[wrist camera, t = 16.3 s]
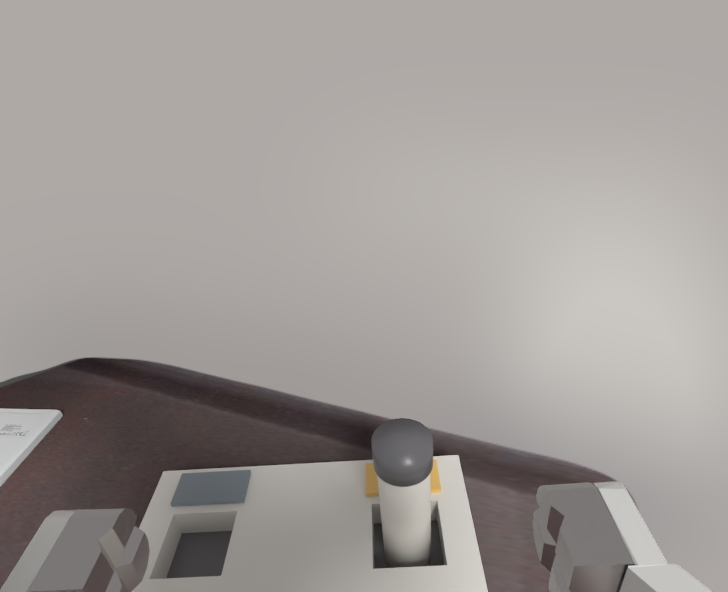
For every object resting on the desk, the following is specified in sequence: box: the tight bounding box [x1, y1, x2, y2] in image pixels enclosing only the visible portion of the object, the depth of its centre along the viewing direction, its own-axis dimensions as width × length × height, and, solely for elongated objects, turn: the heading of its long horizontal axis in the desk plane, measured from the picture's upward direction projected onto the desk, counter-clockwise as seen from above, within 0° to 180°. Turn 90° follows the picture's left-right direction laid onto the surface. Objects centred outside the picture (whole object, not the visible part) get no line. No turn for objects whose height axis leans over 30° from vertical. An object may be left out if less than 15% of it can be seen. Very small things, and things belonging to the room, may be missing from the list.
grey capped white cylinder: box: [371, 418, 433, 568], centre depth 35 cm, size 4×4×12 cm
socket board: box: [132, 455, 488, 592], centre depth 38 cm, size 26×12×3 cm, turn 90°
